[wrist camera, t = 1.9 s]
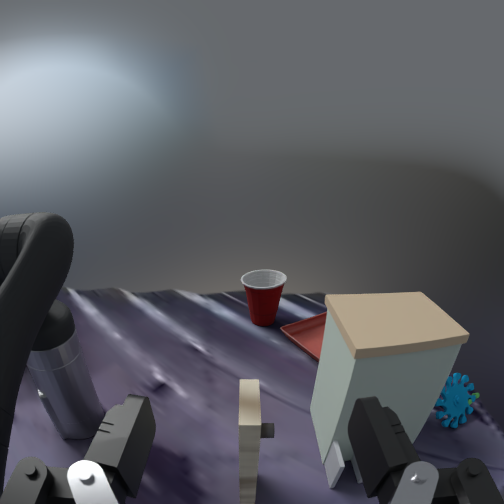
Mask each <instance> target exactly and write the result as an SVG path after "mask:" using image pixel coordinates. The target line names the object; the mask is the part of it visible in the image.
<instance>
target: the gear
mask: <svg viewBox="0 0 504 504" xmlns="http://www.w3.org/2000/svg"><path fill="white" fill-rule="evenodd" d="M460 377H461V374H460V373H454V375H453V384H452V386H451V382H452V377H448V378H447V381H446V383H445V384H446V387H447V391H446V393H445V386H444V387H443V389H442V391H441V393H440V394H441V395H442V397H443V399H444V400H441V399H440V398H439V399H437V401H436V403H435V405H434V406H442V407H443V408H444V412H442V411H438V412H436V419H441V418H442V417H443V416H444V415H446V414H447V415H448V418H447V419H446V420H443V421H442V422H441V424H442V426H443V427H448V426H449V423H450V421H451V419H452V418H453V417H454V421H453V422H452V423H451V424H450V427H451V428H457V427H458V419H459V417H460V415H461V417H460V419H459V424H462V423H465V422H466V421H467V418H466V416H465V408H466V414H467V415H468V414H471V413H472V411H473V408H472V407H470V406H469V405H470V404H471V403H472V402H474V401H475V398H478V397H479V393H473V394H472V395H471V396H470V395H469V394H468V393H467V390H468V391H471V390H474V385H473V383H472V384H469V385H468V386H467V387H466V388H465V387H464V386H463V384H464V382H468V381H469V378H468V376H467V375H464V376H463V377H462V379H461V382H460V383H459V384H458V383H457V382H458V380H459V379H460Z"/></svg>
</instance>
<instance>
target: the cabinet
mask: <svg viewBox="0 0 504 504" xmlns="http://www.w3.org/2000/svg"><path fill="white" fill-rule="evenodd" d="M325 304H326V306H327V308H328V310H327V317H326V324H325V330H324V337H323V343H322V349H321V355H320V360H319V366H318V371H317V377H316V382H315V387H314V392H313V397H312V402H311V406H310V411H311V415H312V419H313V424H314V428H315V432H316V436H317V441H318V445H319V450H320V454H321V458H322V463H323V464H324V465H325V470H326V474H327V479H328V483H329V487H330V488H334V487H335V485H336V483H337V481H338V479H339V477H340V475H341V473H342V471H343V469H344V467H345V465H344V461H348V460H351V462H352V465H353V469H354V472H355V475H356V479H357V482H358V483H362V482H363V481H362V477H361V474H360V471H359V468H358V465H357V462H356V459H355V455H354V452H353V449H352V446H351V443H350V440H349V437H348V422H349V419H350V416H351V414H352V411H353V407H354V404H355V401H356V399H358V398H365V397H372V396H376V397H377V398H378V400H379V402H380V404H381V406H382V407H387V406H388V407H389V408H390V409H391V410H393V411H394V412H395V413H396V414H397V416H398V418H399V420H400V421H401V425H403V427H404V429H405V433H407V435H408V437H409V439H410V441H411V443H412V444H413V443H414V441H415V440H416V438H417V436H418V435H419V433H420V431H421V429H422V428H423V426H424V424H425V422H426V420H427V419H428V417H429V415H430V413H431V411H432V409H433V407H434V405H435V403H436V401H437V399H438V397H439V395H440V393H441V391H442V389H443V387H444V385H445V383H446V381H447V378H448V376H449V374H450V371H451V369H452V367H453V364H454V362H455V359H456V357H457V354H458V352H459V349H460V347H461V344H462V343H466V342H467V339H468V337H469V333H468V332H467V331H465V329H463V328H462V327H461V326H460V325H459V324H458V323H457V322H456V321H454V320H453V319H452V318H451V317H450V316H449V315H448V314H446V313H445V312H444V311H443V310H442V309H441V308H439V307H438V306H437V305H436V304H435V303H434V302H432V301H431V300H430V299H429V298H428V297H426V296H425V295H424V294H423V293H422V292H406V293H381V294H346V295H344V294H342V295H326V297H325Z"/></svg>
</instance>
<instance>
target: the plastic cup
mask: <svg viewBox="0 0 504 504" xmlns="http://www.w3.org/2000/svg"><path fill="white" fill-rule="evenodd" d="M241 281H242V283H243V285H244V287H245V290H246V295H247V301H248V306H249V310H250V316H251V320H252V322H253V323H254V324H255V325H258V326H269V325H271V324H273V323H274V320H275V317H276V312H277V310H278V306H279V301H280V297H281V292H282V289H283V286H284V283H285V282H286V276H285V274H283V273H281V272H279V271H275V270H257V271H252V272H249V273H246V274H245V275H243V276H242V278H241Z"/></svg>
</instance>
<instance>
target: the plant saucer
mask: <svg viewBox="0 0 504 504" xmlns="http://www.w3.org/2000/svg"><path fill="white" fill-rule="evenodd" d="M326 317H327V312H325V313H322V314H319V315H316V316H313V317H310V318H307V319H304V320H301V321H298V322H295V323H291V324H288V325H285V326H282V327H281V328H280V329H281V330H282V332H283V333H284V334H285V335H286V336H287V338H288V339H289V340H291V341H292V342H293V343H294V344H296V345H297V346H298V347H299V348H301V349H302V350H303V351H305V352H306V353H307V354H308V355H310V356H311V357H312V358H314V359H315V360H316V361H317V362H319V360H320V355H321V349H322V343H323V337H324V330H325V324H326Z"/></svg>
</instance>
